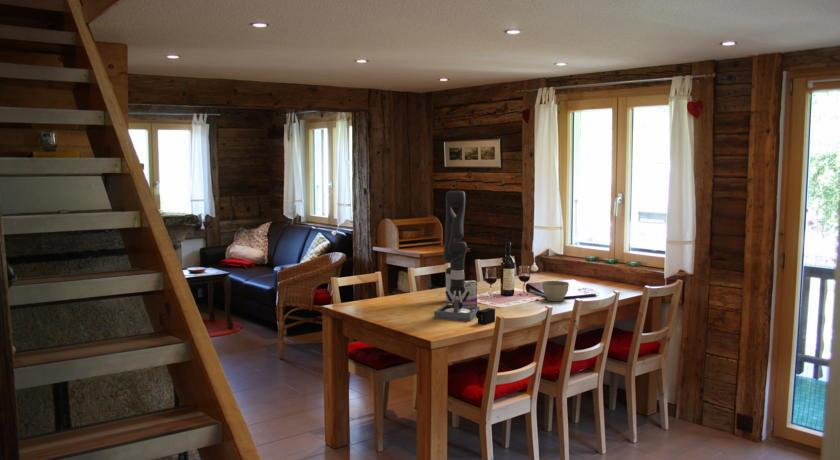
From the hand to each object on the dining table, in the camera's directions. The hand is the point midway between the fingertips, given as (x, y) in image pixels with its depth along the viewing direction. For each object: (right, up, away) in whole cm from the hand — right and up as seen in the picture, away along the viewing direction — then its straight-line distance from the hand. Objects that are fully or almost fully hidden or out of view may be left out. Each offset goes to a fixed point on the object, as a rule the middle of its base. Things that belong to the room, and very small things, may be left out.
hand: (457, 308), depth 383 cm
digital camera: (+14, -6, -15) cm, 22 cm away
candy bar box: (+6, -3, +18) cm, 19 cm away
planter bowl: (+62, 0, +44) cm, 76 cm away
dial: (0, -2, 0) cm, 2 cm away
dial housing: (0, -4, 0) cm, 4 cm away
